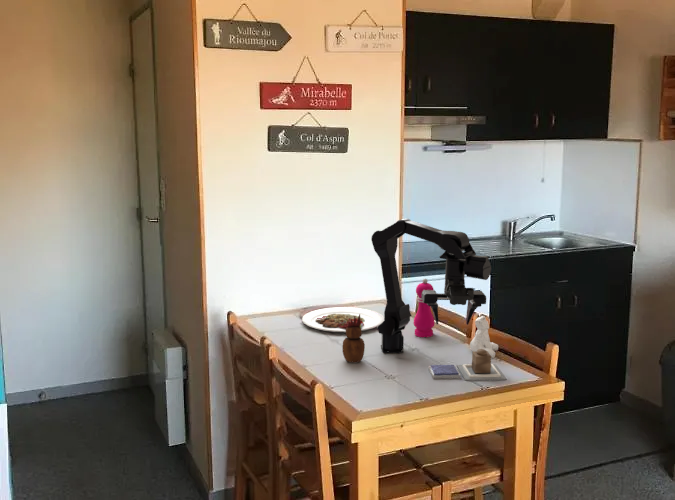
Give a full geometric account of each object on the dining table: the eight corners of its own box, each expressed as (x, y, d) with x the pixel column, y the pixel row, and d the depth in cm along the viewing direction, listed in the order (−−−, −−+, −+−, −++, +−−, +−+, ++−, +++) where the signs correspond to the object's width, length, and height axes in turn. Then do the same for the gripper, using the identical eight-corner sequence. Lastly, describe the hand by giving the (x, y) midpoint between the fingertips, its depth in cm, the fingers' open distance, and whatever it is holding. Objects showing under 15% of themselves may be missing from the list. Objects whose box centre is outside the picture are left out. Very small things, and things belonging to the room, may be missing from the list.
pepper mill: (410, 336, 246) (411, 279, 242) (416, 330, 252) (417, 275, 248) (431, 339, 243) (432, 281, 239) (436, 333, 250) (438, 277, 246)
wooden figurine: (366, 359, 224) (367, 312, 221) (361, 365, 218) (361, 318, 215) (346, 356, 226) (346, 310, 223) (340, 362, 220) (340, 315, 218)
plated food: (334, 307, 283) (334, 299, 282) (399, 320, 266) (399, 311, 265) (285, 325, 259) (285, 316, 258) (353, 341, 242) (353, 331, 241)
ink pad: (433, 378, 207) (433, 374, 207) (428, 368, 215) (428, 364, 215) (460, 378, 208) (460, 373, 207) (454, 368, 216) (455, 364, 215)
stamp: (475, 374, 210) (476, 353, 208) (471, 369, 214) (472, 348, 213) (490, 374, 210) (491, 353, 208) (486, 368, 214) (487, 348, 213)
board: (465, 380, 206) (465, 377, 206) (456, 366, 218) (456, 362, 217) (506, 380, 206) (506, 376, 206) (495, 365, 218) (495, 362, 218)
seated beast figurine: (494, 358, 224) (496, 322, 222) (466, 355, 227) (468, 319, 225) (498, 349, 233) (500, 313, 230) (472, 346, 236) (473, 311, 233)
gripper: (428, 280, 206) (425, 332, 210) (492, 281, 207) (488, 333, 210) (422, 271, 217) (420, 320, 220) (483, 272, 218) (480, 321, 221)
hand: (452, 324), depth 218 cm, fingers open, 9 cm apart
